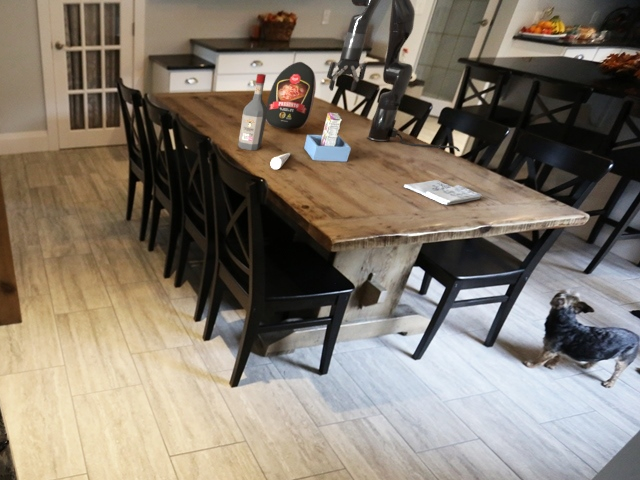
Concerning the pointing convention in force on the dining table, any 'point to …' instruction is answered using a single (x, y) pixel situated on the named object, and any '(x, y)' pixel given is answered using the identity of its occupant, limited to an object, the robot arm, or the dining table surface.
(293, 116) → the packaged food
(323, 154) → the crate
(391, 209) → the dining table surface
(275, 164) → the unicorn horn
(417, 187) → the folded newspaper
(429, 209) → the dining table surface
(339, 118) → the candy bar box
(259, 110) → the liquor
